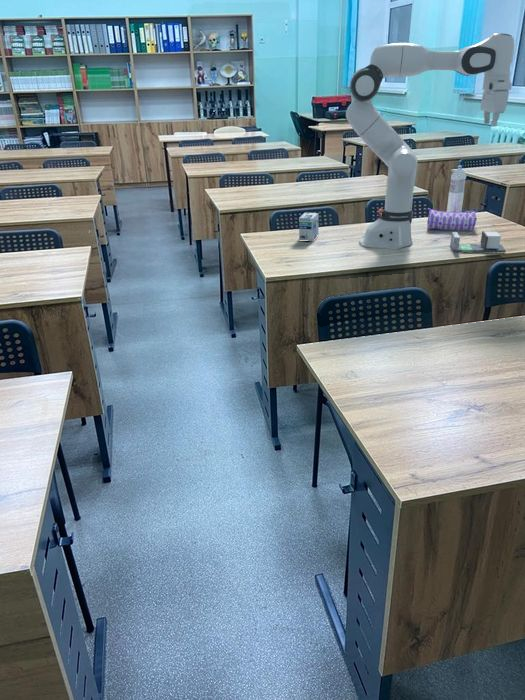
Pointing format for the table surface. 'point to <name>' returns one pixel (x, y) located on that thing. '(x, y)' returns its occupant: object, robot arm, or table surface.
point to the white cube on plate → (490, 239)
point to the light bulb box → (308, 226)
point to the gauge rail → (470, 246)
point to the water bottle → (456, 190)
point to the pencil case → (451, 220)
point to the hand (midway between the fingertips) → (489, 124)
